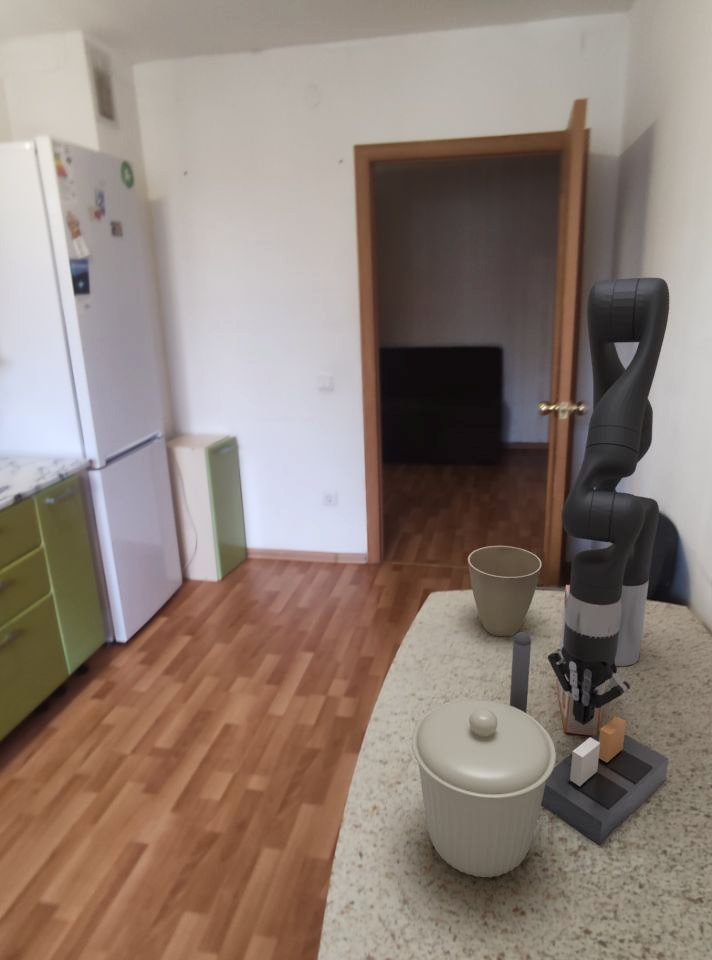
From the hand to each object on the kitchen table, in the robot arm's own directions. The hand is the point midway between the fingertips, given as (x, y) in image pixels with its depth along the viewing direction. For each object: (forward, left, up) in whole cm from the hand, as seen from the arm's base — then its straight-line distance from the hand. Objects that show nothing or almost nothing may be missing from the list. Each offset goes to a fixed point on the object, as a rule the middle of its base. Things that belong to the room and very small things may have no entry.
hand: (582, 720), depth 101 cm
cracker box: (-11, -7, -8) cm, 15 cm away
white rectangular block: (+7, +5, -4) cm, 9 cm away
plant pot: (-22, -33, -8) cm, 41 cm away
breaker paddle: (0, +5, -4) cm, 6 cm away
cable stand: (+11, -4, -8) cm, 14 cm away
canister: (+24, 0, -8) cm, 25 cm away
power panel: (+3, +6, -8) cm, 10 cm away
